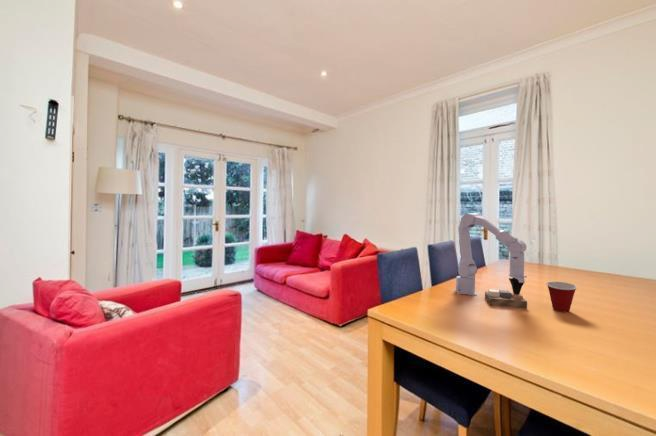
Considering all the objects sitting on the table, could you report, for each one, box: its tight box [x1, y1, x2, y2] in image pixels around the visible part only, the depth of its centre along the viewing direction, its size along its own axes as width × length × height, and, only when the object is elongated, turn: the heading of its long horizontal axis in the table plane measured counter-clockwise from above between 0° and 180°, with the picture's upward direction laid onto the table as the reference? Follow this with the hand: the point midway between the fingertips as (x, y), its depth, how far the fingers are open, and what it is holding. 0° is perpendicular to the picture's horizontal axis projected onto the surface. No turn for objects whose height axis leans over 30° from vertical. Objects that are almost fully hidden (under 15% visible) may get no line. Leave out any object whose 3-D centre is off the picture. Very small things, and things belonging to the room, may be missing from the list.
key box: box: [484, 291, 528, 310], centre depth 134 cm, size 15×11×4 cm
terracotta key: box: [510, 292, 524, 299], centre depth 133 cm, size 4×4×3 cm
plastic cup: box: [546, 281, 578, 313], centre depth 125 cm, size 11×11×12 cm
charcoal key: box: [498, 289, 512, 298], centre depth 134 cm, size 4×4×3 cm
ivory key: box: [487, 289, 500, 297], centre depth 136 cm, size 4×4×3 cm
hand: (516, 293), depth 133 cm, fingers closed
